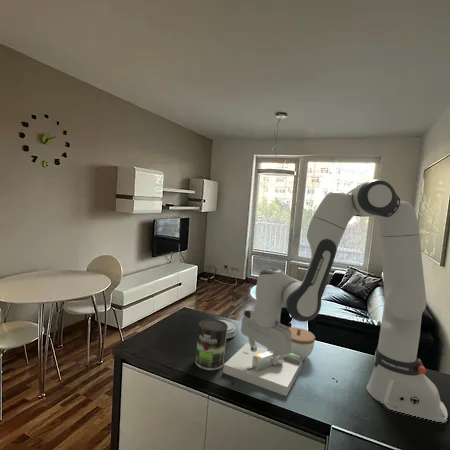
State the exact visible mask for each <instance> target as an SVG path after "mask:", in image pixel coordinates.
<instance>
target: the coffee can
mask: <svg viewBox="0 0 450 450" xmlns="http://www.w3.org/2000/svg"><path fill="white" fill-rule="evenodd" d="M219 320H220V319H213V318H212V319H211V318H207V319H206V318H205V319H202V320H201V321H199V323H198V333H197V340H196V341H197V343H196V353H195V362H194V363H195V365H196V366H197V367H198V368H200V369H202V370H206V371H216V370H217V371H218V370H220V369H221V368H223V367H224V364H225V362H224V361H225V352H226V342H227V339H226V335H227V328H228V326H227V324H226V323H224V322H222V321H219Z"/></svg>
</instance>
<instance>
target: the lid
mask: <svg viewBox="0 0 450 450" xmlns="http://www.w3.org/2000/svg"><path fill="white" fill-rule="evenodd" d="M218 320H219V321H222V322H224V323H226V324H227V326H228V328H227V335H226V340H227V339H231V338H234V337H235V335H236V330H237V327H236V325H235V324H234V323H232V321H228V320H224V319H218Z"/></svg>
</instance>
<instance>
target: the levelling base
mask: <svg viewBox="0 0 450 450" xmlns="http://www.w3.org/2000/svg"><path fill="white" fill-rule="evenodd" d="M256 346H257V351H256V352H252V351H251V350H250V348H251V346H250V343H249V342H246V343H245V344H244V345H242V346H241V348H240V349H238V350H237V352H236V353H234V354H233V355H232V356H231V357H230V358H229V359H228V360H227V361H226V362H224V364H223V371H222V373H223V374H225V375H228V376H231V377H234V378H237V379H239V380H241V381H243V382H244V381H245V382H247V383H249V384H251V385H252V384H253V385H255V386H257V387H260V388H263V389H266V390H267V391H271V392H273V393H277V394H279V395H281V396H285V397H287V395H288V394H289V392H290V391H291V388H292V386H293V385H294V383H295V381H296V379H297V377H298V375H299V374H300V372H301V369H302V365H303V360H301V358H300V356H299V355H295V354H292V353H290V354H288V355H286V356H284V361H283V365H282V366H269V367H266V368H264V369H261V370H258V371H256V370H255V369H253V368H252V359H253V356H254V355H257V354H261V353H264V352H267V349H268V348H266V347H265V348H264V347H261V346H258V345H256Z"/></svg>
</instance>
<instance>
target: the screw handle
mask: <svg viewBox="0 0 450 450" xmlns="http://www.w3.org/2000/svg"><path fill="white" fill-rule="evenodd" d="M266 349H267V352H264V353H261V354H257V355H254V356H253V359H252V368H253V369H255V370H256V371H258V370H261V369H264V368H266V367H269V366H282V365H283V361H284V356H281V355H280V356H279V358H278V360H277V364H275V365H274V364H272V363H271V362H270V361H271V357H274V356H275V355H274V351H272V350H270V349H268V348H266Z"/></svg>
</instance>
